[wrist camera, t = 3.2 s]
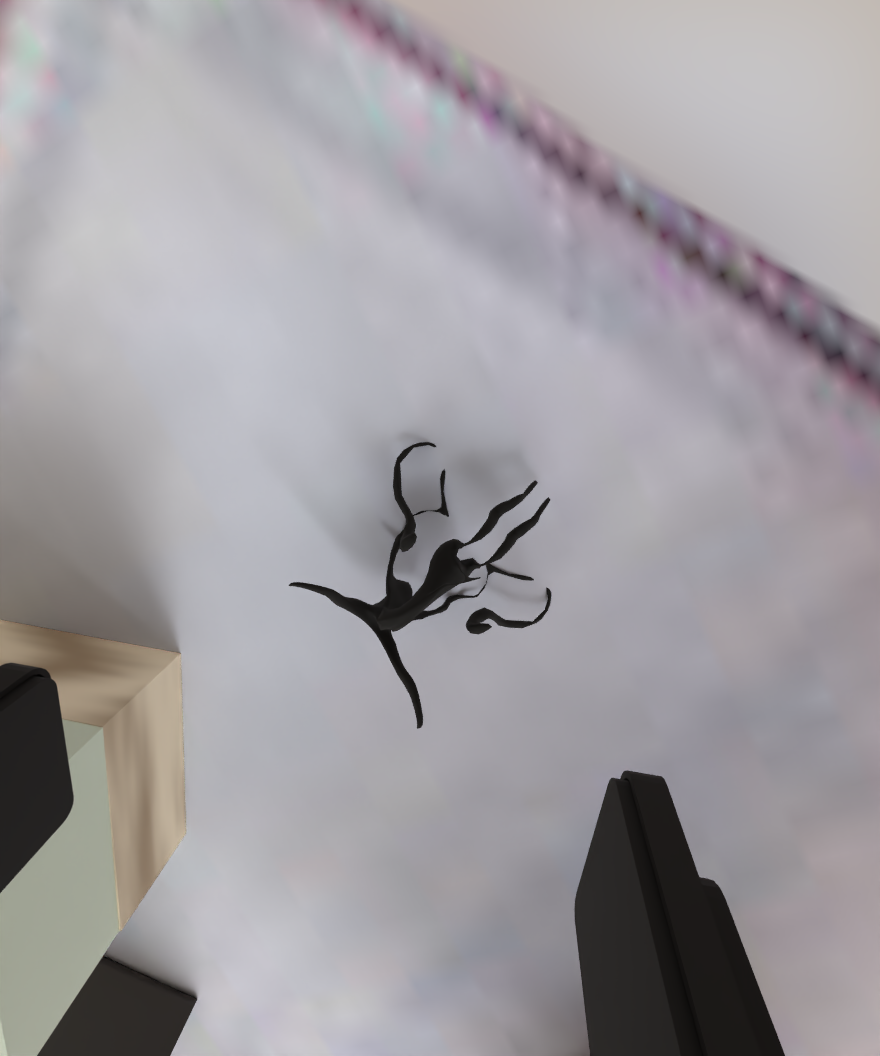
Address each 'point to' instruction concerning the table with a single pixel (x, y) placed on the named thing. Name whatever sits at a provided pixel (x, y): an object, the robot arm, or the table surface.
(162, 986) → the phone stand
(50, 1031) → the tower top
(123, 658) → the tower base
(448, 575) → the creature
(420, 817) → the table surface
